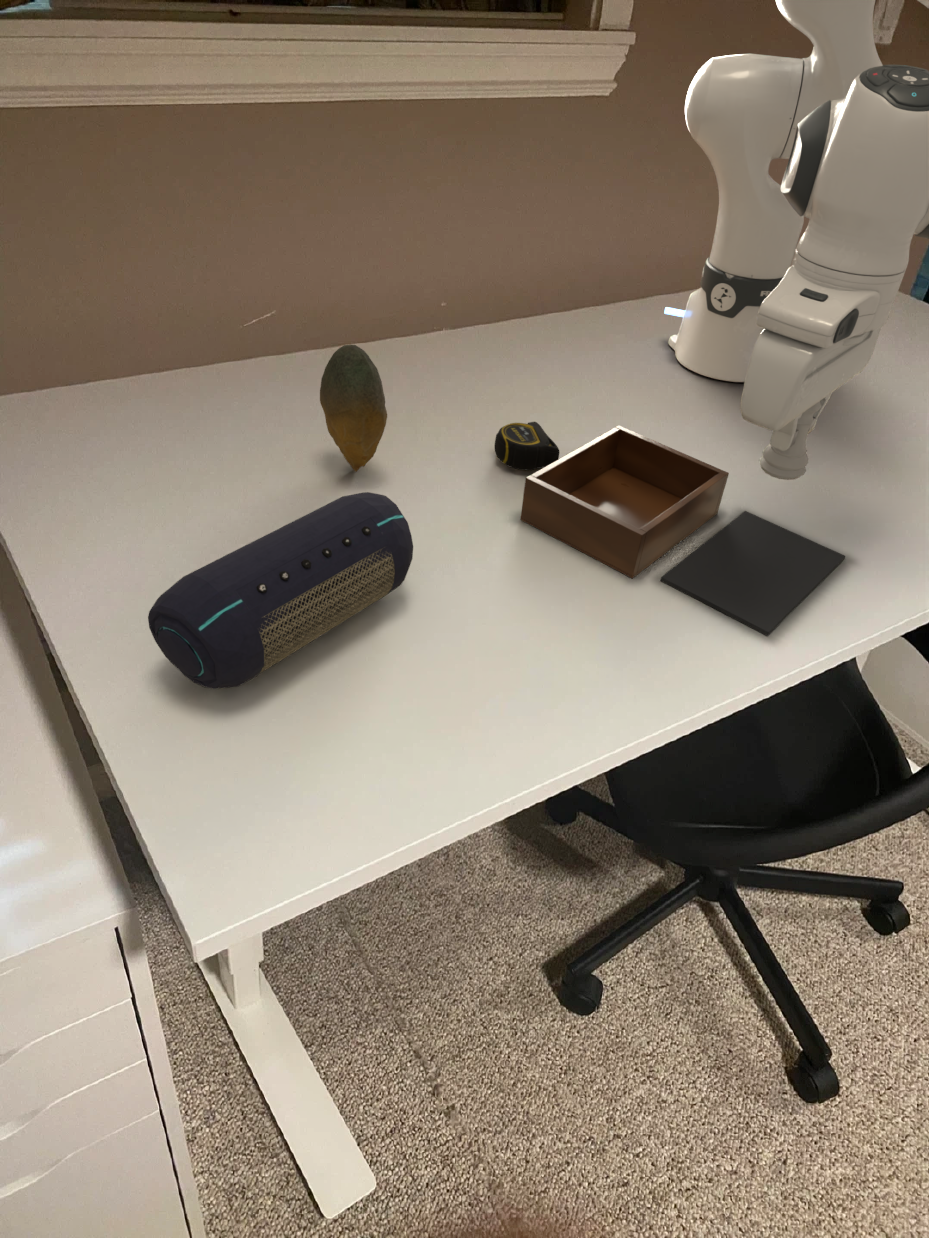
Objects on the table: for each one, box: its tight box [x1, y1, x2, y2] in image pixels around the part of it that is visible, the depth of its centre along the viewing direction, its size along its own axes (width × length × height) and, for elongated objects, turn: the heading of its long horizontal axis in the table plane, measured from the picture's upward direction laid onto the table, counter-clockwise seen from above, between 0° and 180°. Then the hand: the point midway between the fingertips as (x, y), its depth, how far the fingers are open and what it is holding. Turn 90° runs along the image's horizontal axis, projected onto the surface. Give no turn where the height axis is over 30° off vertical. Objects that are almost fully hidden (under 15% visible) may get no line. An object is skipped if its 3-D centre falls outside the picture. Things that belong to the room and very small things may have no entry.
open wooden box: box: [519, 425, 730, 579], centre depth 99 cm, size 18×15×5 cm
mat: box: [659, 510, 847, 637], centre depth 95 cm, size 18×12×1 cm, turn 138°
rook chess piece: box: [758, 401, 822, 481], centre depth 85 cm, size 4×4×8 cm
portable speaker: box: [147, 491, 414, 690], centre depth 80 cm, size 25×10×10 cm, turn 139°
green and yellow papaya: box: [319, 344, 388, 473], centre depth 100 cm, size 10×6×15 cm, turn 37°
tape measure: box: [494, 421, 560, 471], centre depth 108 cm, size 7×7×4 cm
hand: (790, 439), depth 86 cm, fingers closed on rook chess piece, 3 cm apart
